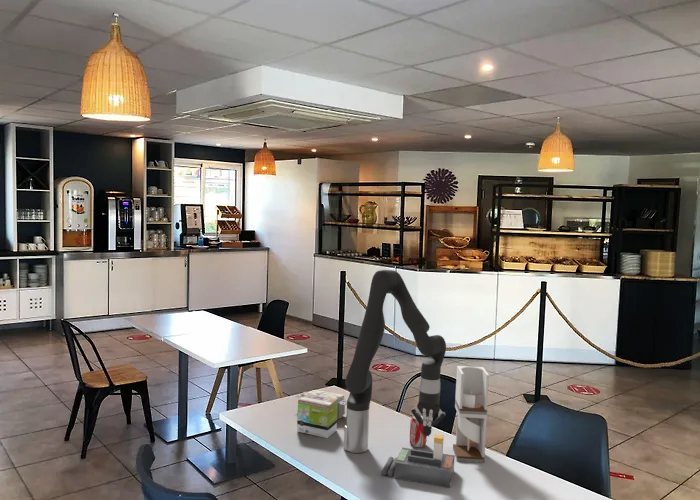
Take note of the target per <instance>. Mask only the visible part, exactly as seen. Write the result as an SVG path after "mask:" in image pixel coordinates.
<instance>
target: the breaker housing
mask: <svg viewBox="0 0 700 500" xmlns="http://www.w3.org/2000/svg"><path fill="white" fill-rule="evenodd" d="M433 452H434V451H428V450H421V449H416V448H415V449H414V448H408V447H402V448H401V449H400V451H399V454H398V455H397V457H396V458H397V460H396V462H395V471H394V479H396V480H402V481H407V482H414V483H420V484H426V485H432V486H437V487H444V488H448V489H449V488H451V483H452V480H453V479H452V478H453V476H454V471H455V460H456V457H455V454H454V455H453V454H447V453H443V457H442V462H441V460H438V459H433Z"/></svg>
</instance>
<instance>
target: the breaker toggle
mask: <svg viewBox="0 0 700 500" xmlns="http://www.w3.org/2000/svg"><path fill="white" fill-rule="evenodd" d="M432 452H433V459H438V460H441V462H442V457H443V454H444V435H442V434H437V433H435V435H434V437H433V451H432Z"/></svg>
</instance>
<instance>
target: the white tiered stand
mask: <svg viewBox="0 0 700 500" xmlns="http://www.w3.org/2000/svg"><path fill="white" fill-rule="evenodd" d="M489 381H490V375H489V373H488V371H487V370H486V369H485V367H484V366H468V365H467V366H466V365H464V366H463V365H457V366H456V381H455V396H454V398H455V401H454V408H455V410H456V413H457V416H456V437H455V444H454V443H453V444H452V451H453V453H454V455H455V460H456V462H469V463H470V462H471V463H485V453H486V440H487V439H486V437H487V436H486V435H487V418H488V417H487V416H488V398H489Z"/></svg>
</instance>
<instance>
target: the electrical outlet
mask: <svg viewBox="0 0 700 500" xmlns="http://www.w3.org/2000/svg"><path fill="white" fill-rule="evenodd" d="M307 394H313V395H319V396H324V397H329V398H335V399H338V408H337V420H339V419H342V418H343V417H344V415H345V414H346V407H345V406H347V400H348V399H345V394H341V393H335V392H330V391H325V390H324V391H323V390H318V389H313V390H309V391H303V392H302V393H300V394H296V395H295V397H296V398H302V397H304V396H305V395H307Z"/></svg>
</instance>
